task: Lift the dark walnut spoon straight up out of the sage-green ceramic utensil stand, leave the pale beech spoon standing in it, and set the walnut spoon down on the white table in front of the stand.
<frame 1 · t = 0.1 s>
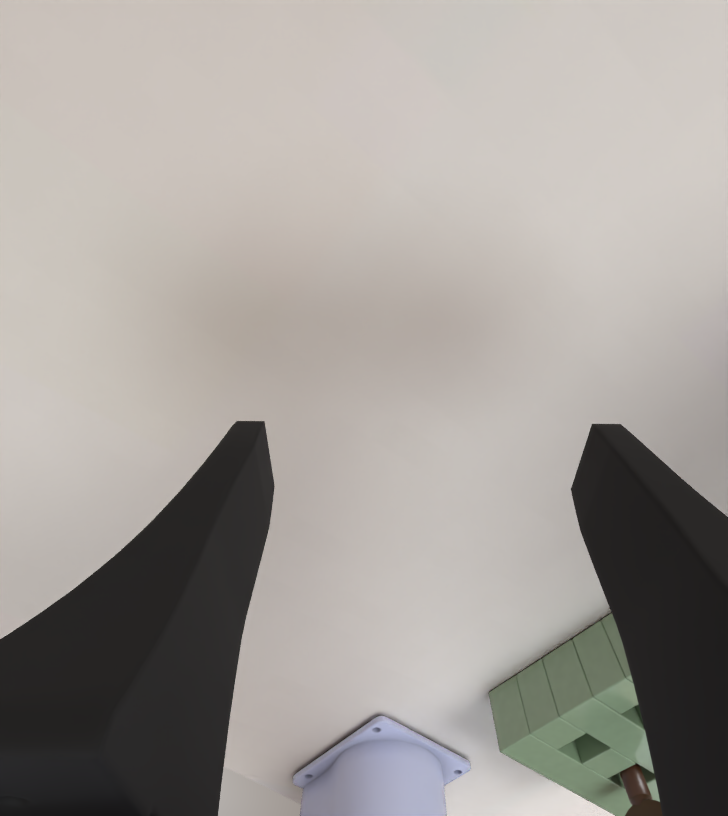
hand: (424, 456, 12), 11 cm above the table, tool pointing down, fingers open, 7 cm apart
utensil stand: (645, 670, 32), on the table
walnut spoon: (609, 717, 34), resting in utensil stand
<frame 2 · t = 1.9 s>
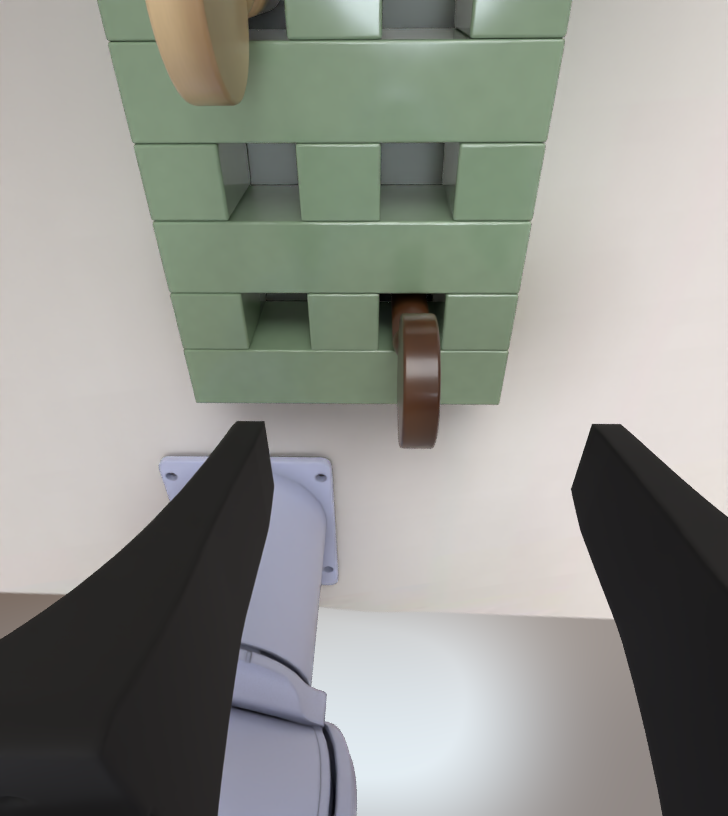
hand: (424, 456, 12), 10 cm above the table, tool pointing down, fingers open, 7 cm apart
utensil stand: (345, 151, 17), on the table
walnut spoon: (406, 275, 20), resting in utensil stand
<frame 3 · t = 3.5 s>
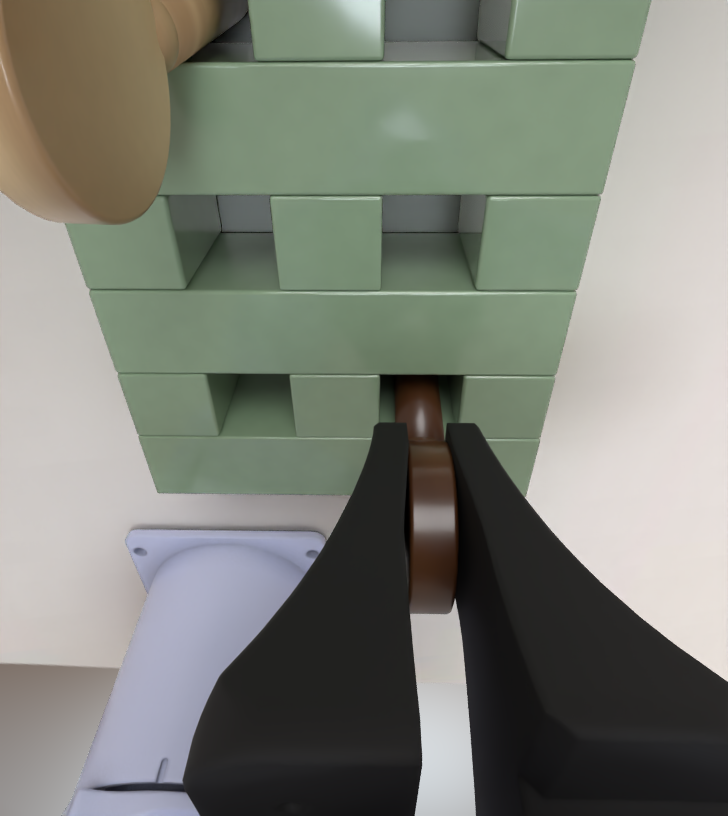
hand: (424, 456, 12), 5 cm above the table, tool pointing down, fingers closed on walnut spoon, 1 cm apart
utensil stand: (338, 192, 14), on the table
walnut spoon: (412, 336, 16), resting in utensil stand, tilted 7°, touching gripper
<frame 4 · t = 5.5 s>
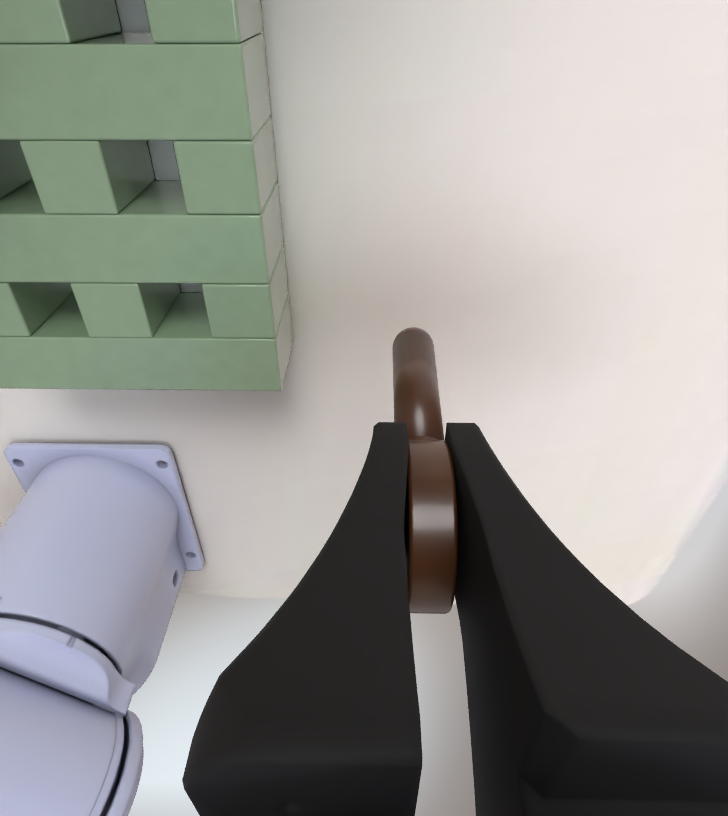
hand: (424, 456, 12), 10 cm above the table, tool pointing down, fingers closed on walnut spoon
utensil stand: (116, 148, 18), on the table
walnut spoon: (412, 335, 16), point 5 cm above the table, tilted 7°, touching gripper
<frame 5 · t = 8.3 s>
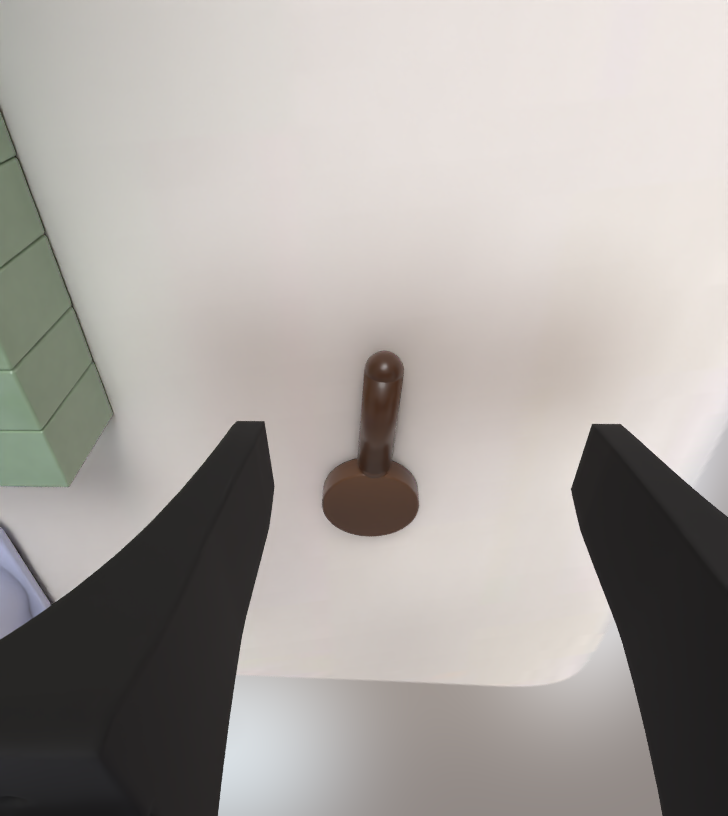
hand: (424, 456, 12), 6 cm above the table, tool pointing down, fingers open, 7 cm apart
walnut spoon: (385, 354, 16), point 1 cm above the table, tilted 92°
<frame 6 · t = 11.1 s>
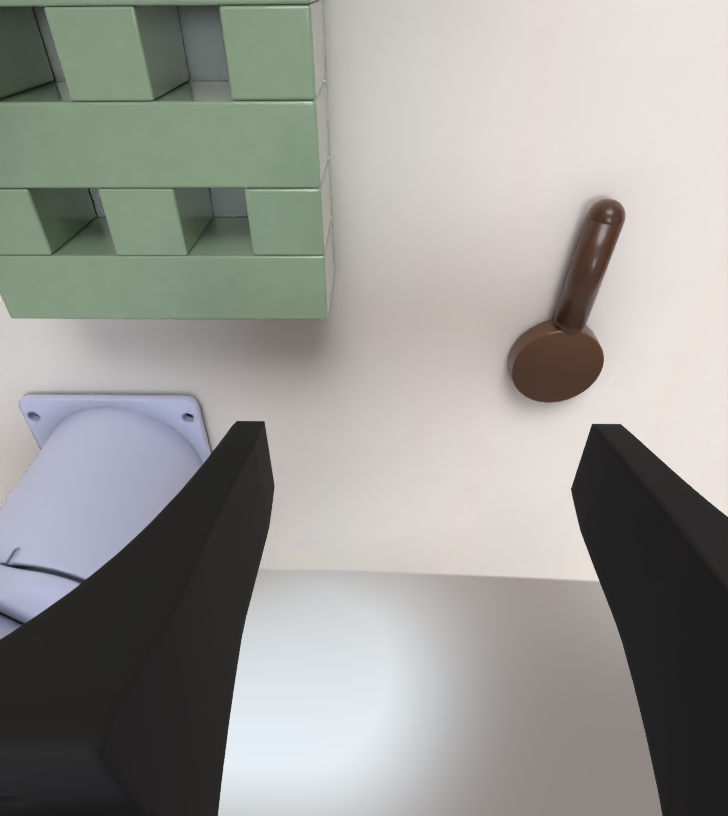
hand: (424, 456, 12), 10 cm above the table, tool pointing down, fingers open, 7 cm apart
utensil stand: (147, 42, 16), on the table
walnut spoon: (612, 200, 18), point 1 cm above the table, tilted 92°
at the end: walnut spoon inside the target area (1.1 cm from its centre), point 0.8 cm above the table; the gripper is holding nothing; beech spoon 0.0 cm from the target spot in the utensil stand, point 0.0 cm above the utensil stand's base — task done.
